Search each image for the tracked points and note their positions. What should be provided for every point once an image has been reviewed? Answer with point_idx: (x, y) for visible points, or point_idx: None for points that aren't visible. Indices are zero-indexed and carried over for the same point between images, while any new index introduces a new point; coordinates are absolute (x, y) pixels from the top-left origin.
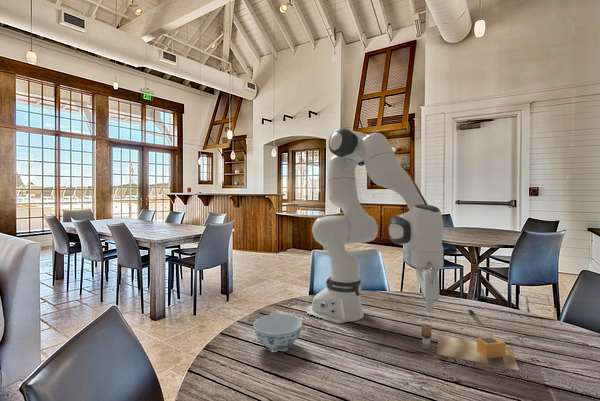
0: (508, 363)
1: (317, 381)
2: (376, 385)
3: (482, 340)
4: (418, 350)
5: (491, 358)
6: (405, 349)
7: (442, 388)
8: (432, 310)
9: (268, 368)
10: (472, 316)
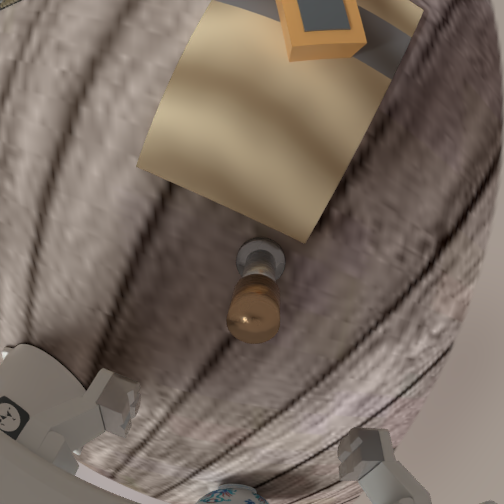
0: (385, 8)
1: None
2: (396, 407)
3: (322, 35)
4: None
5: None
6: None
7: (453, 290)
8: (387, 437)
9: (303, 494)
10: (3, 7)
